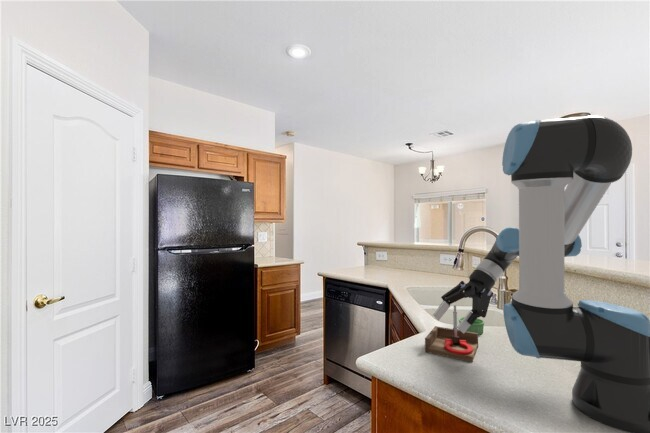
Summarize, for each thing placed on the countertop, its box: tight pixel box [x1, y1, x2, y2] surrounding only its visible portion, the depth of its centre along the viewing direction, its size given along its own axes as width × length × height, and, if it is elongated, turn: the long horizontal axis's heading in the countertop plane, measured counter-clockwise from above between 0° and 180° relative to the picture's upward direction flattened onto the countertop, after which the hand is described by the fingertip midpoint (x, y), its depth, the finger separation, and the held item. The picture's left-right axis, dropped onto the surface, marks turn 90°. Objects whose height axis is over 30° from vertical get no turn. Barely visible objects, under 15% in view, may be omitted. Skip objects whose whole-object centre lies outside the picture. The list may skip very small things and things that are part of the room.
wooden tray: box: [424, 325, 479, 363], centre depth 103 cm, size 14×14×4 cm
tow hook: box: [444, 305, 473, 355], centre depth 99 cm, size 8×13×9 cm
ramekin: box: [458, 316, 485, 336], centre depth 120 cm, size 9×9×4 cm
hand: (447, 323), depth 102 cm, fingers open, 13 cm apart
